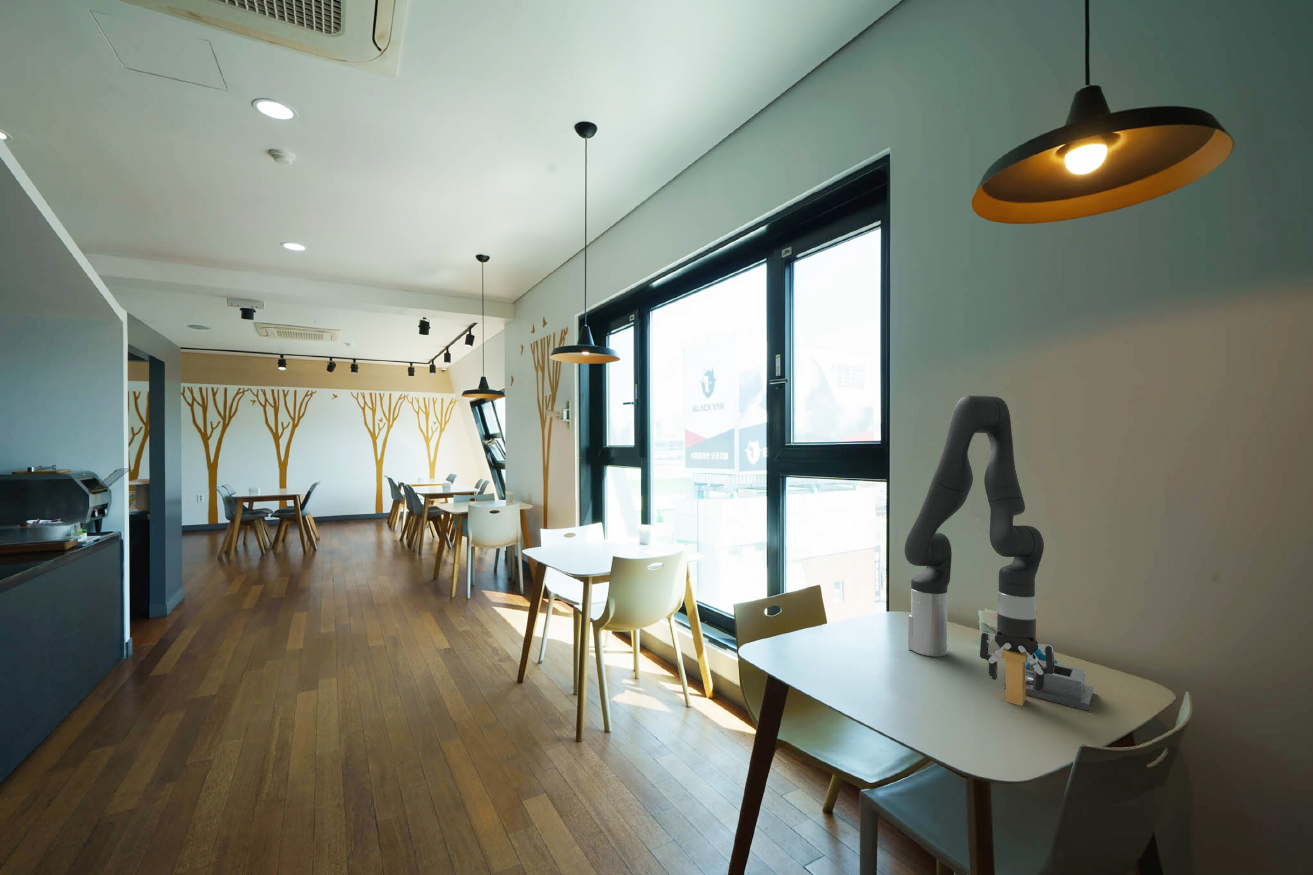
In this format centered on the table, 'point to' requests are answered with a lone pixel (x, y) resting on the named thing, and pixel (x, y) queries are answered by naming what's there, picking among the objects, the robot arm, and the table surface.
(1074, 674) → the gray slotted base block
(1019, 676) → the yellow t-shaped post
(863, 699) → the table surface
